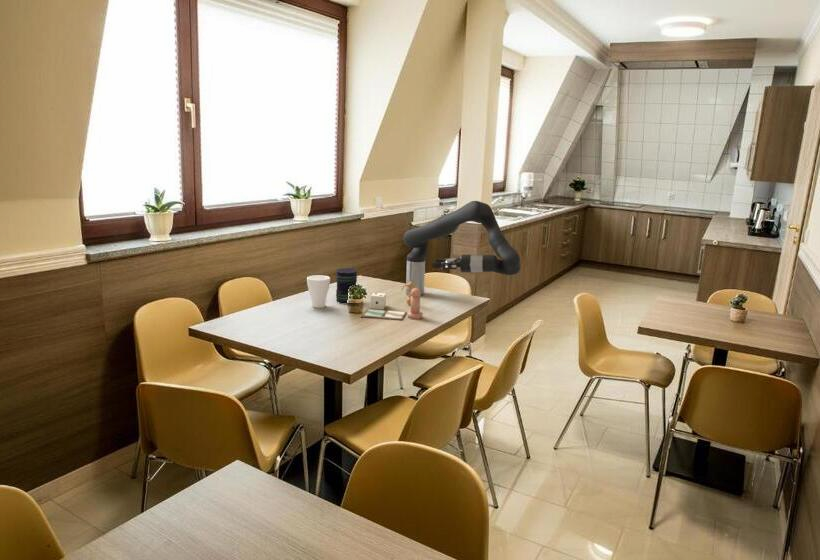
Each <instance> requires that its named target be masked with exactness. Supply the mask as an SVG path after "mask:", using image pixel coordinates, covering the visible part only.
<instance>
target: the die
mask: <svg viewBox="0 0 820 560" xmlns="http://www.w3.org/2000/svg"><path fill="white" fill-rule="evenodd" d="M386 304H387V293H381V292H373V293H372V294H371V295H370V304H369V305H370V307H369V308H370V309H373V310H385V308H386V307H387V305H386Z"/></svg>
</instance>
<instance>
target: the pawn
mask: <svg viewBox="0 0 820 560" xmlns="http://www.w3.org/2000/svg"><path fill="white" fill-rule="evenodd" d="M420 295H421V292H420V290H419V289H418V288H414V289H412V290H411V295H410V297H411V305H410V311H408V312H407V318H408V319H409V318H410V320H415V319H416V320H421V319H420V318H422V319H423V312H422V311H421V309H420V307H421V296H422V295H421V296H420Z"/></svg>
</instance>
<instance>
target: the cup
mask: <svg viewBox="0 0 820 560" xmlns="http://www.w3.org/2000/svg"><path fill="white" fill-rule="evenodd" d="M330 282H331V277H329V276H328V275H322V274H321V275H319V274H317V275H316V274H315V275H309V276H307V277H306V284H307V289H308V292H309V296H310V300H311V301H310V302H311V306H312V308H314V307H315V309H322V308H325V307H326V301H327V296H328V292H329V289H330V284H331V283H330Z"/></svg>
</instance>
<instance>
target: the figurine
mask: <svg viewBox="0 0 820 560" xmlns="http://www.w3.org/2000/svg"><path fill="white" fill-rule="evenodd" d="M406 286H408V287H409V288H408V292H410V291H411V290H412V287H413V286H415V287H417V286H416V285H414V284H412V282H411V281H410V282H409V283H408V284H404V285H403V286H402V289H401V291H403V290H404V288H405V287H406ZM417 288H418V287H417ZM409 294H410V293H408V295H407V296H408V297H407V298H406V303H407V305H408V306H411V295H409Z"/></svg>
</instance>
